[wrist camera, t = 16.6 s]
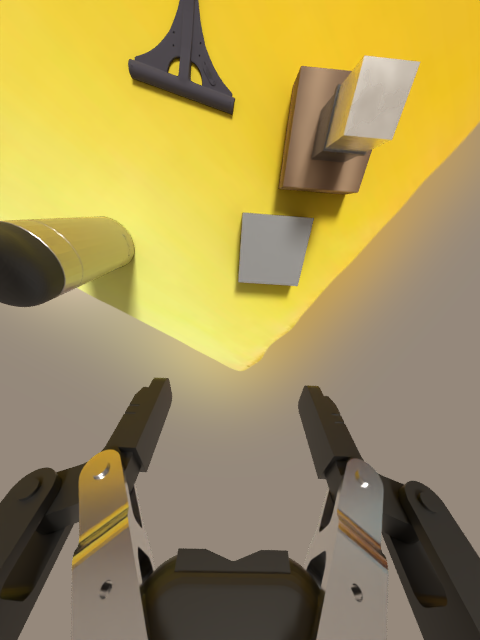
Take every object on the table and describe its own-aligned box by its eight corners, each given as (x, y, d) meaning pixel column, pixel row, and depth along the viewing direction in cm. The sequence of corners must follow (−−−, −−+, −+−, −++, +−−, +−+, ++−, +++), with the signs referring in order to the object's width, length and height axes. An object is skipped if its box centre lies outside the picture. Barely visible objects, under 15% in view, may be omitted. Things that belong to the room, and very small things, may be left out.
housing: (309, 160, 27) (340, 137, 18) (319, 108, 24) (363, 51, 16) (344, 164, 27) (392, 142, 19) (359, 112, 24) (423, 58, 16)
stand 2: (278, 188, 32) (283, 186, 29) (293, 85, 26) (301, 66, 22) (345, 194, 32) (357, 192, 29) (375, 93, 26) (396, 75, 23)
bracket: (262, -66, 21) (265, -102, 18) (232, 116, 28) (231, 107, 26) (129, -130, 19) (113, -180, 17) (135, 82, 26) (124, 68, 24)
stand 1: (238, 275, 40) (238, 282, 37) (242, 212, 34) (242, 212, 30) (292, 279, 40) (297, 286, 37) (306, 217, 34) (313, 218, 31)
